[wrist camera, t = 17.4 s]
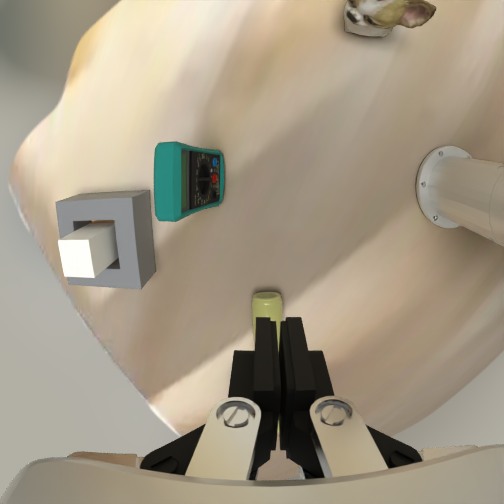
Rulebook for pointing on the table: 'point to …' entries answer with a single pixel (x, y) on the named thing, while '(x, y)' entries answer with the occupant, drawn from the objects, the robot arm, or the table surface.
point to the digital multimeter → (186, 180)
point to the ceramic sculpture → (385, 15)
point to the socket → (127, 234)
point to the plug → (89, 249)
